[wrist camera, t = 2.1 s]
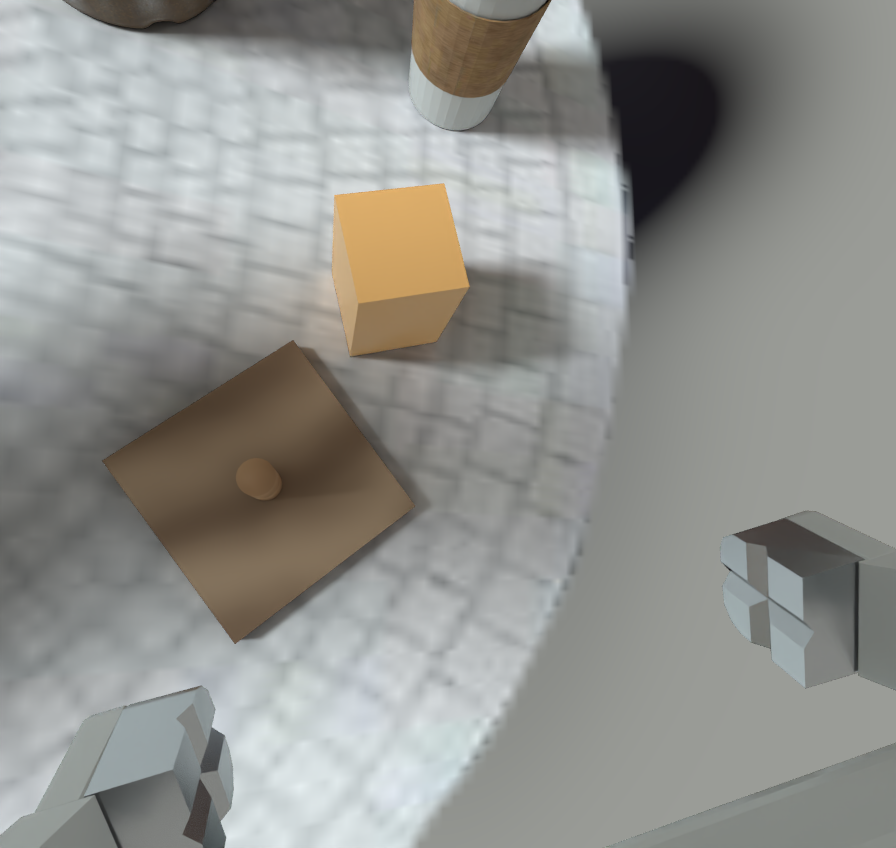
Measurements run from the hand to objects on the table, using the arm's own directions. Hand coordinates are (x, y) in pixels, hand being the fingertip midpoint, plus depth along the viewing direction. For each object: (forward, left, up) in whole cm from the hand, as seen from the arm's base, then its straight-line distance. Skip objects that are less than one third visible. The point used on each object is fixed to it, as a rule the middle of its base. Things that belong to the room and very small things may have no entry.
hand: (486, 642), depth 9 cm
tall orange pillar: (-12, +10, -27) cm, 31 cm away
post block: (-7, -2, -27) cm, 28 cm away
